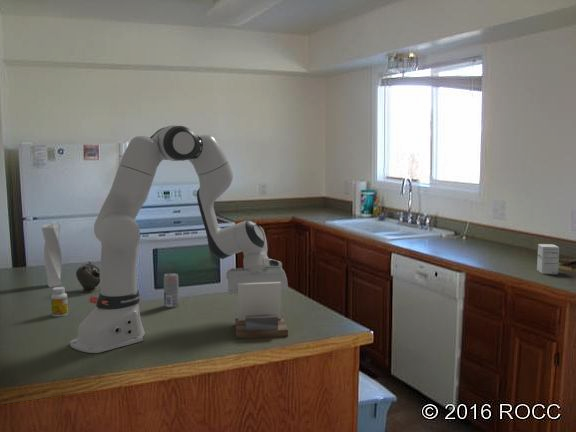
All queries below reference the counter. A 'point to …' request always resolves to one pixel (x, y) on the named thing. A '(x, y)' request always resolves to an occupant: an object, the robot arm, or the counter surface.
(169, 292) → the energy drink
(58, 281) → the skyscraper
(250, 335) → the bar
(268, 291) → the white flat panel
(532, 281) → the counter surface
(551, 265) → the supplement box
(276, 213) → the counter surface
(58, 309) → the supplement bottle
